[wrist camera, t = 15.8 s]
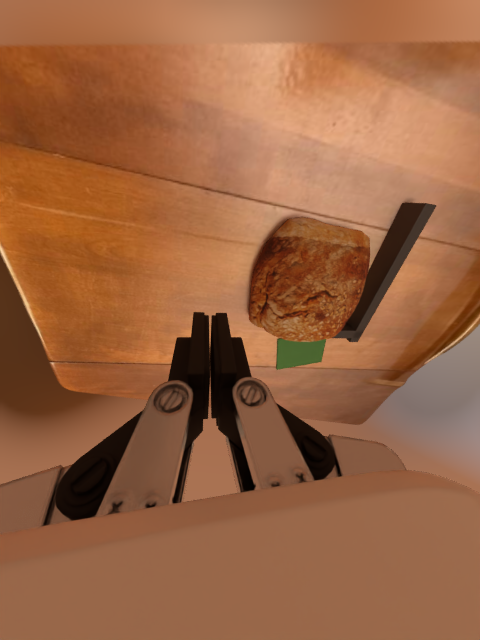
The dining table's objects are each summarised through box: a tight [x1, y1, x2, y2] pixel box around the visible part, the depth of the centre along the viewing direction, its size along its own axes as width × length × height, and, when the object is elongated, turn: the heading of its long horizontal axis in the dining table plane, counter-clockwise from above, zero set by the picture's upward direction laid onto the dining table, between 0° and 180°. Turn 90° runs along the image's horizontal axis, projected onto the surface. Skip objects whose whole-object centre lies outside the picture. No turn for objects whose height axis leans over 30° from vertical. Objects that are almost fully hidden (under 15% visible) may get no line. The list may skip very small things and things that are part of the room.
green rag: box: [276, 338, 326, 370], centre depth 46 cm, size 10×12×1 cm
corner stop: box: [332, 203, 436, 342], centre depth 34 cm, size 26×18×4 cm
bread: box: [249, 217, 370, 342], centre depth 31 cm, size 20×18×10 cm
